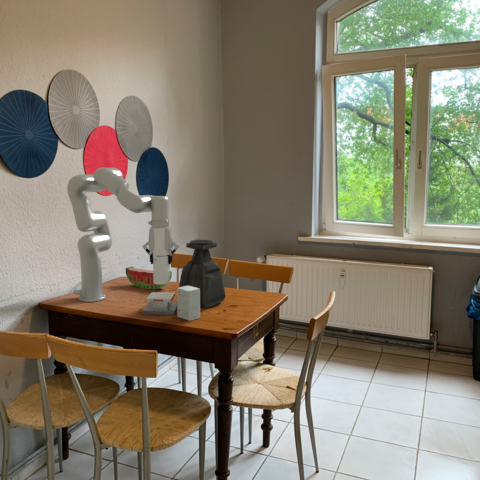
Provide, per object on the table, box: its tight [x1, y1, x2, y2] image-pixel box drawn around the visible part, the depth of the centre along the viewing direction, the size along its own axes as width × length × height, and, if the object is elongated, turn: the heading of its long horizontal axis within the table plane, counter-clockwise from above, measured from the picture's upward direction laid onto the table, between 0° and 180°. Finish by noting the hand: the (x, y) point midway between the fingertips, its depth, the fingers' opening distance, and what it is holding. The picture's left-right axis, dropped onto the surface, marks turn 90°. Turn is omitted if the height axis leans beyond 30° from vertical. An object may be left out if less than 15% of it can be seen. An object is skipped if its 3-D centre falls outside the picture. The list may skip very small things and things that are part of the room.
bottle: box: [178, 239, 227, 310], centre depth 215 cm, size 18×16×30 cm
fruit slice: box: [125, 266, 173, 290], centre depth 245 cm, size 26×6×10 cm, turn 65°
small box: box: [176, 286, 201, 322], centre depth 196 cm, size 8×6×13 cm
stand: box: [141, 291, 177, 316], centre depth 207 cm, size 14×14×6 cm
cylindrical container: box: [152, 228, 171, 285], centre depth 203 cm, size 7×7×25 cm
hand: (161, 263), depth 204 cm, fingers closed on cylindrical container, 7 cm apart
